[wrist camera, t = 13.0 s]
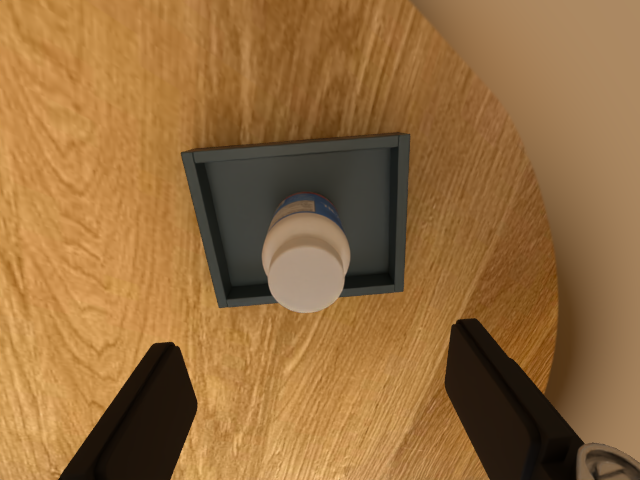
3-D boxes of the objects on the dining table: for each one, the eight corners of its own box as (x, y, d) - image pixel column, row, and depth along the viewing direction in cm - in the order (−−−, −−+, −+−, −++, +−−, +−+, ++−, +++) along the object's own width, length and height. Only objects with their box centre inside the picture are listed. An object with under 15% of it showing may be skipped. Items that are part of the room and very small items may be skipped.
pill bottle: (346, 241, 25) (370, 310, 16) (287, 260, 25) (277, 338, 16) (327, 179, 23) (341, 219, 14) (262, 201, 23) (236, 254, 14)
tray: (399, 132, 22) (410, 134, 20) (394, 276, 27) (403, 291, 25) (193, 148, 22) (179, 152, 20) (226, 291, 27) (218, 308, 25)
